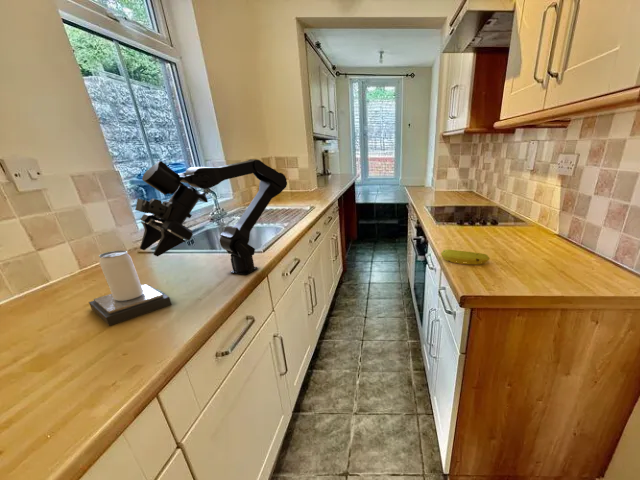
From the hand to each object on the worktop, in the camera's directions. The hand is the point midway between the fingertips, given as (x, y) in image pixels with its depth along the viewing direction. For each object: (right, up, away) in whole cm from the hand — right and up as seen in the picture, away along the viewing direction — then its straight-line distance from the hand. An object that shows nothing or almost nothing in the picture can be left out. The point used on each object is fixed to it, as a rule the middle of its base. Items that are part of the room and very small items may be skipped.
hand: (148, 252), depth 86 cm
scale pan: (-4, -13, -1) cm, 13 cm away
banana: (+95, +3, +34) cm, 100 cm away
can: (-4, -12, -1) cm, 13 cm away
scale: (-4, -15, 0) cm, 16 cm away
